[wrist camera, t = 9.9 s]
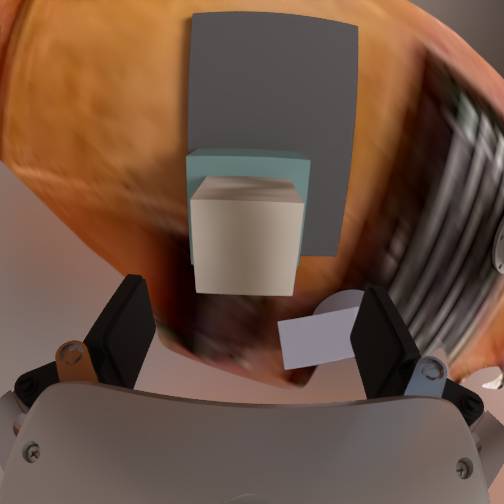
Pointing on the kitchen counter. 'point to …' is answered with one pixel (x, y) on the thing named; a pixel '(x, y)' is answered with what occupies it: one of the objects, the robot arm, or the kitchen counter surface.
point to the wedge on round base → (321, 332)
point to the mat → (280, 100)
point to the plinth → (246, 171)
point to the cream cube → (246, 235)
